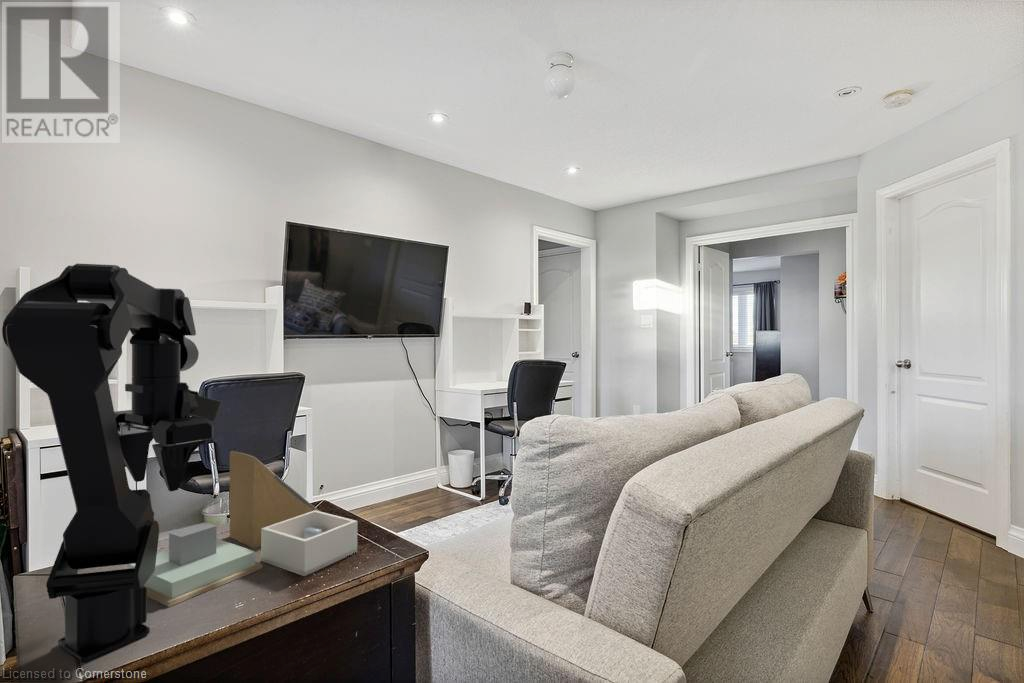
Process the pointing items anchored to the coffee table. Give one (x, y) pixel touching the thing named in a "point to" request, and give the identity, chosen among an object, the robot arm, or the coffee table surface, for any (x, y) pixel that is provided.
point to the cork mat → (172, 601)
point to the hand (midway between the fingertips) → (155, 485)
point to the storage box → (308, 542)
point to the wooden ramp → (259, 499)
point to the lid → (196, 561)
